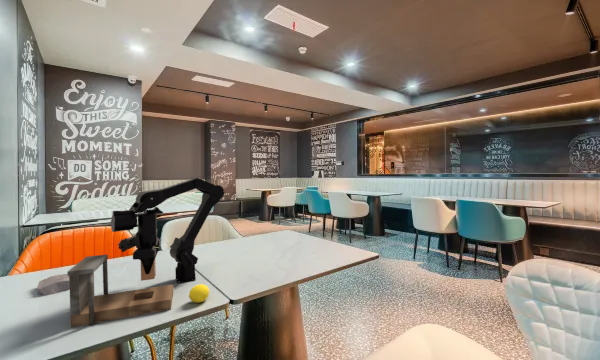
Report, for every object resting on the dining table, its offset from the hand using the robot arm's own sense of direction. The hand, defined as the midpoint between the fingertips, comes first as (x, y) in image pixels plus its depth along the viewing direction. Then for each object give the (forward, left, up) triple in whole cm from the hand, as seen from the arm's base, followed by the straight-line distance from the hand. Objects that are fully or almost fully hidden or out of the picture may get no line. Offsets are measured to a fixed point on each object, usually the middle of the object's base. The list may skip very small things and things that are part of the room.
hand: (148, 271), depth 96 cm
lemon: (-16, +17, -6) cm, 24 cm away
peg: (0, 0, -2) cm, 2 cm away
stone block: (+31, -15, -7) cm, 35 cm away
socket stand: (+4, +13, -6) cm, 15 cm away
